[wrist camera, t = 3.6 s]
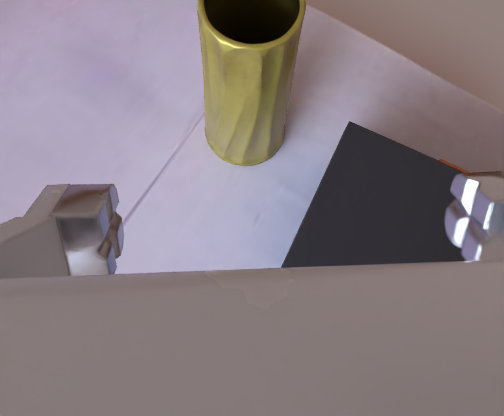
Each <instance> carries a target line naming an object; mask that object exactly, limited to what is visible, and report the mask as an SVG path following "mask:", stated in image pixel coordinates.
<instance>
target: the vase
mask: <svg viewBox="0 0 504 416" xmlns="http://www.w3.org/2000/svg"><path fill="white" fill-rule="evenodd" d="M305 10H306V2H305V0H198V10H197V13H198V21H199V30H200V40H201V52H202V62H203V77H204V98H205V134H206V138H207V141H208V144H209V146H210V147H211V149H212V150H213V151H214V152H215V153H216V154H217V155H218V156H219V157H220V158H221V159H223V160H225V161H227V162H229V163H232V164H236V165H242V166H251V165H256V164H260V163H262V162H264V161H266V160H268V159H270V158H271V157H272V156H273V155H274V154H275V153H276V152H277V151H278V150H279V148H280V147H281V145H282V142H283V139H284V135H285V120H286V116H287V110H288V103H289V97H290V92H291V86H292V81H293V75H294V69H295V63H296V57H297V51H298V45H299V39H300V33H301V28H302V23H303V19H304V15H305Z"/></svg>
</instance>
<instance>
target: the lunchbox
mask: <svg viewBox="0 0 504 416" xmlns="http://www.w3.org/2000/svg"><path fill="white" fill-rule="evenodd" d="M461 173H470V172H468V171H466V170H464V169H461V168H459V167H457V166H455V165H452V164H450V163H448V162H446V161H443V160H441V159H440V160H439V161H438V160H436V159H433V158H431V157H429V156H427V155H424V154H422V153H420V152H418V151H415V150H413V149H411V148H409V147H406V146H404V145H402V144H400V143H397V142H395V141H393V140H391V139H389V138H386V137H384V136H382V135H380V134H377V133H375V132H373V131H371V130H368V129H366V128H364V127H362V126H359V125H357V124H355V123H353V122H349V123H348V125H347V127H346V129H345V131H344V133H343V135H342V137H341V139H340V141H339V144H338V146H337V148H336V150H335V152H334V154H333V157H332V159H331V161H330V163H329V165H328V167H327V169H326V172H325V174H324V176H323V178H322V180H321V182H320V185H319V187H318V189H317V191H316V193H315V195H314V197H313V200H312V202H311V204H310V206H309V208H308V210H307V213H306V215H305V217H304V219H303V221H302V223H301V226H300V228H299V230H298V232H297V234H296V236H295V238H294V241H293V243H292V245H291V247H290V249H289V251H288V254H287V256H286V258H285V260H284V262H283V264H282V266H281V268H293V267H320V266H346V265H373V264H400V263H427V262H454V261H465V260H464V258H463V257H462V256H461V255H460V254H461V250H462V248H460V247H458V246H456V245H454V244H452V243H451V241H450V240H449V239H448V237H447V234H446V231H445V223H444V218H445V212H446V207H447V206H448V205H449V204H450V203H451V202H452V201H453V200H454V197H453V196H452V194H451V192H450V189H451V185H452V181H453V179H454V177H455V176H456V175H458V174H461Z"/></svg>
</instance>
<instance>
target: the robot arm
mask: <svg viewBox="0 0 504 416" xmlns="http://www.w3.org/2000/svg"><path fill="white" fill-rule="evenodd" d="M450 192H451V194H452V196H453V197H454V200H453V201H452V202H451V203H450V204H449V205H448V206H447V207H446V212H445V218H444V223H445V231H446V234H447V237H448V239H449V240H450V241H451V243H452V244H454V245H456V246H458V247H460V248H462V250H461V254H460V255H461V256H462V257H463V258H464V260H465V261H454V262H427V263H400V264H373V265H346V266H320V267H293V268H266V269H239V270H212V271H185V272H159V273H132V274H115V271H116V268H117V266H116V260H115V259H116V258H118V257H119V256H121V252H122V249H123V240H124V233H123V223H122V218H121V217H120V216H119V215H118V214H117V213H116V212H115V211H116V208H117V206H118V203H119V199H118V194H117V189H116V187H115V185H114V184H72V185H70V184H58V185H47V186H46V187H45V188H44V190H43V191H42V192H41V194H40V195H39V196H38V198H37V199H36V200H35V202H34V203H33V204H32V206H31V207H30V208H29V210H28V211H27V212H26V214H25V215H24V216H23V217H16V218H13V219H11V220H9V221H7V222H5V223H2V224H0V416H504V172H501V171H496V172H477V173H461V174H458V175H456V176H455V177H454V179H453V181H452V185H451V189H450Z"/></svg>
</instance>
